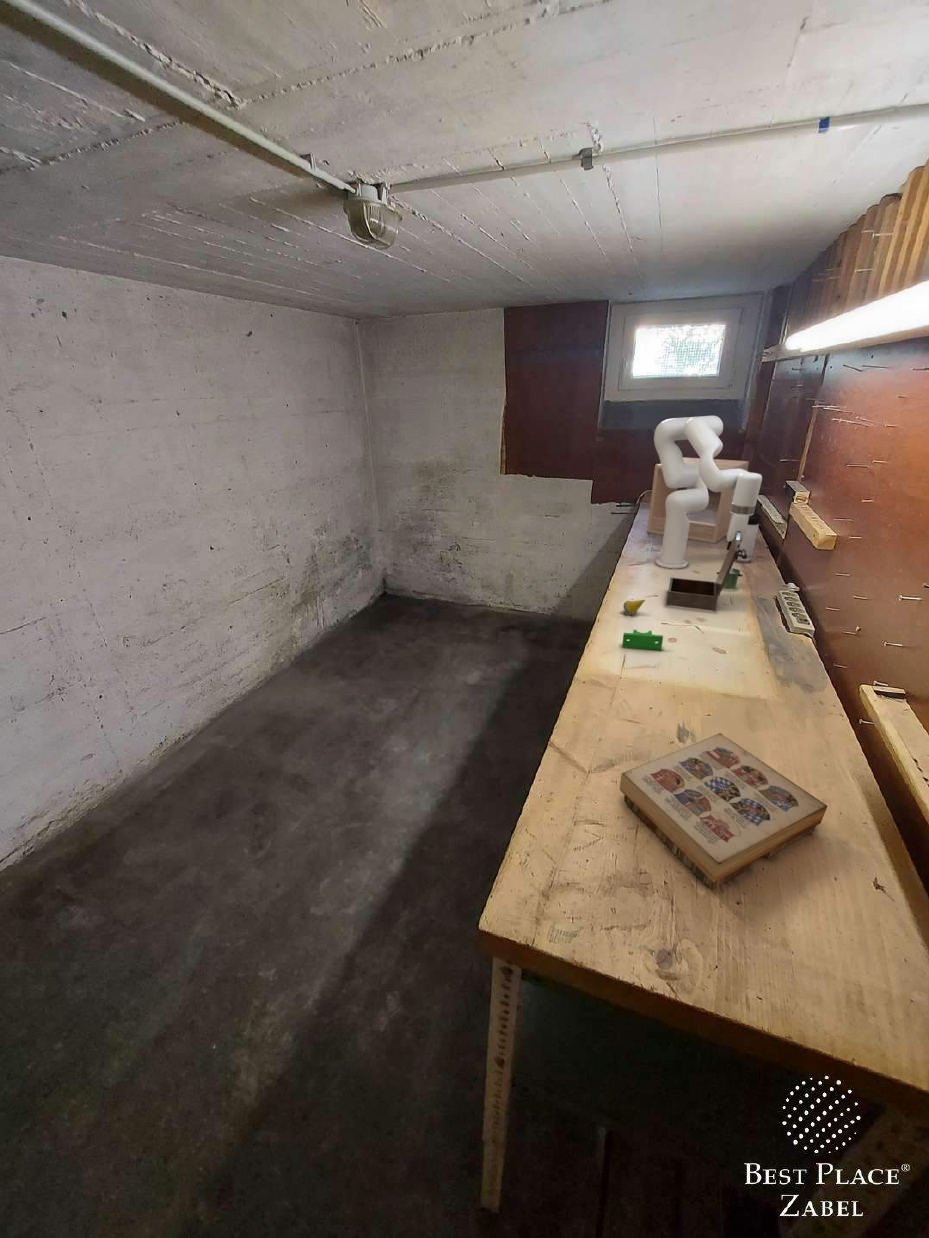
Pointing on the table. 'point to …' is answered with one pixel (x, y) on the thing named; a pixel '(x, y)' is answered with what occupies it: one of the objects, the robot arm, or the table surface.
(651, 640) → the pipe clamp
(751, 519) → the travel mug
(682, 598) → the chest
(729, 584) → the pot
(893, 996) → the table surface
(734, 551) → the chest lid
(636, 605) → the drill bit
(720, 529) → the storage cube
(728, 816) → the beige printed box
